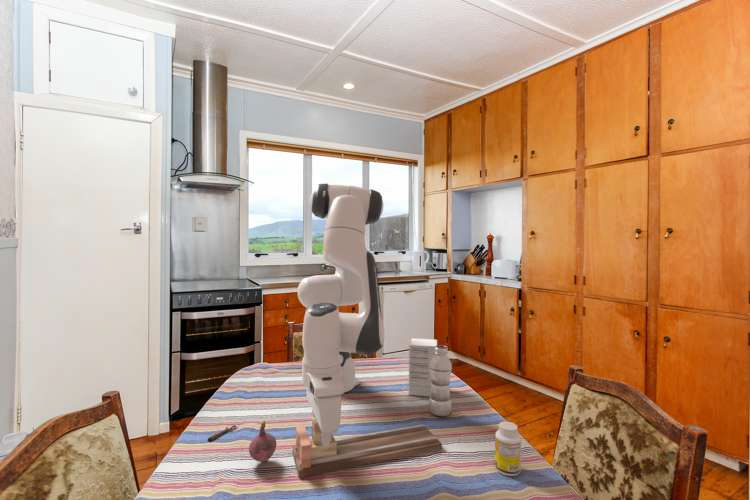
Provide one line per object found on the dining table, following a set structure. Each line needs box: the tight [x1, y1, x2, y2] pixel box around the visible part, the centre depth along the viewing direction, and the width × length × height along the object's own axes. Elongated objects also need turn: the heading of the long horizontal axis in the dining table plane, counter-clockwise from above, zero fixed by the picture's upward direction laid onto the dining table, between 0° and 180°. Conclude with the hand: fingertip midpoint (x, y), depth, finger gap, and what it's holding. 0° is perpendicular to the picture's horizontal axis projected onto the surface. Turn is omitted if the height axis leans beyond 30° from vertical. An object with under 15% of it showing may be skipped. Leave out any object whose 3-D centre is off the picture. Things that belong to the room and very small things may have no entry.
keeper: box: [308, 416, 337, 459], centre depth 89 cm, size 5×6×8 cm
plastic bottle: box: [428, 345, 453, 417], centre depth 113 cm, size 6×7×20 cm
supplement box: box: [408, 337, 438, 398], centre depth 130 cm, size 10×9×17 cm
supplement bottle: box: [494, 420, 522, 477], centre depth 87 cm, size 6×6×10 cm
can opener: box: [207, 424, 239, 442], centre depth 101 cm, size 9×2×1 cm, turn 146°
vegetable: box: [248, 420, 277, 464], centre depth 88 cm, size 6×6×10 cm
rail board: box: [292, 423, 443, 479], centre depth 93 cm, size 10×35×6 cm, turn 110°
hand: (320, 433), depth 89 cm, fingers open, 8 cm apart
